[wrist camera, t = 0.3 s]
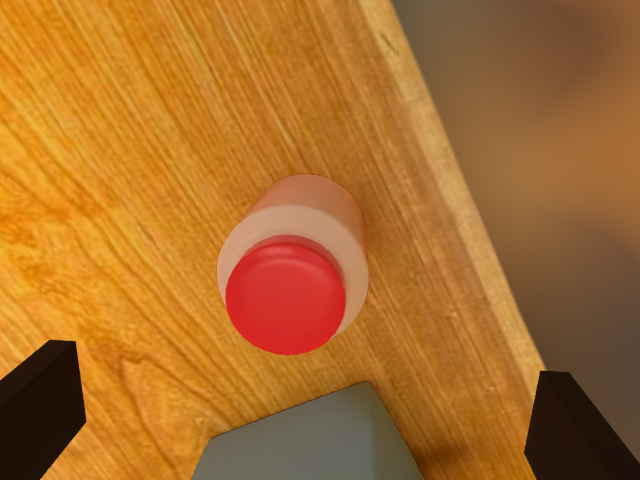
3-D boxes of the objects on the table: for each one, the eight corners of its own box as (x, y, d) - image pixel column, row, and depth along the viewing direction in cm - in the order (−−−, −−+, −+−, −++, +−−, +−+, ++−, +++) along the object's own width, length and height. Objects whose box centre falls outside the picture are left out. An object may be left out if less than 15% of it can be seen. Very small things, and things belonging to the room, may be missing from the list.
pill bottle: (388, 216, 31) (406, 283, 21) (323, 304, 33) (309, 404, 23) (289, 150, 30) (255, 183, 20) (229, 244, 32) (170, 320, 22)
